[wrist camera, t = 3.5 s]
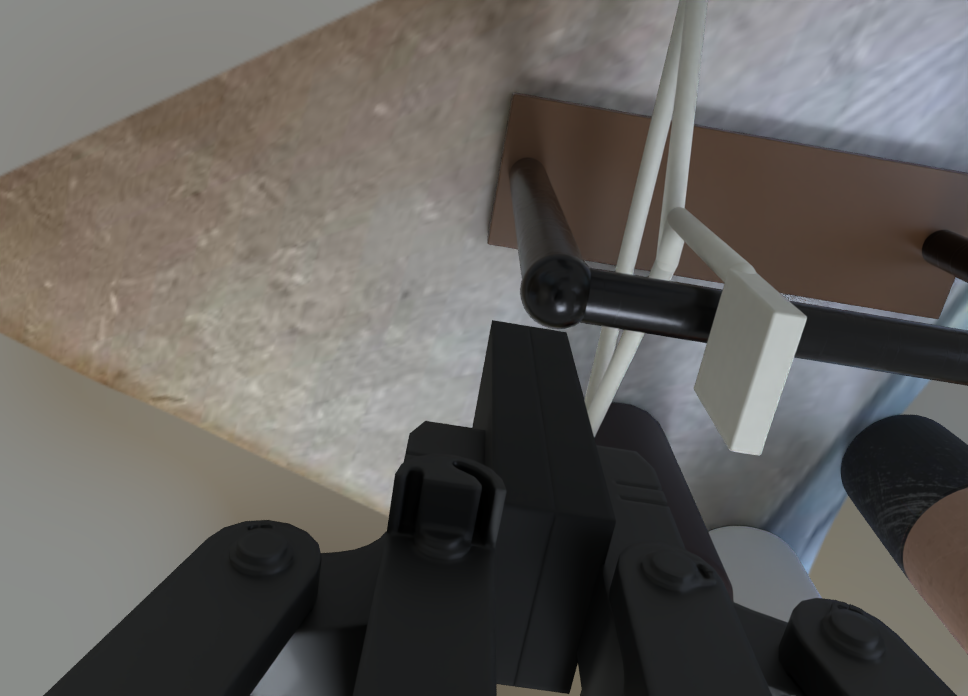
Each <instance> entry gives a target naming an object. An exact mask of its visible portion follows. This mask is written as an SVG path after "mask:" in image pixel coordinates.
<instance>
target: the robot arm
mask: <svg viewBox="0 0 968 696" xmlns="http://www.w3.org/2000/svg"><path fill="white" fill-rule="evenodd" d="M661 489H662V487H661V484H660V482H659V479H658V476H657V474H656V471H655V469H654V468H653V467H652V466H651V465H650V464H649V463H648V462H647V461H646V460H645V459H644V458H643V457H642V456H641V455H640V454H639V453H638V452H637V451H631V450H625V449H618V448H612V447H605V446H599V445H596V443H595V439H594V435H593V431H592V427H591V424H590V420H589V416H588V412H587V408H586V405H585V401H584V397H583V393H582V389H581V386H580V382H579V378H578V374H577V370H576V367H575V363H574V359H573V355H572V351H571V348H570V344H569V340H568V336H567V333H566V332H561V331H555V330H549V329H543V328H536V327H530V326H524V325H518V324H512V323H506V322H499V321H493V320H492V324H491V329H490V335H489V340H488V346H487V351H486V357H485V362H484V367H483V373H482V378H481V384H480V389H479V395H478V400H477V406H476V411H475V417H474V422H473V428H468V427H461V426H455V425H449V424H442V423H436V422H429V421H425V422H423V423H422V424H421V425H420V426H419V427H417V428H416V429H415V430H414V431H412V432H411V433H410V435H409V439H408V444H407V449H406V454H405V459H404V463H403V464H401V466H400V467H399V469H398V471H397V472H396V474H395V479H394V486H393V493H392V500H391V506H390V513H389V520H388V527H387V532H385V533H384V534H383V535H382V536H381V538H379V539H378V540H376V541H374V542H373V543H371V544H369V545H367V546H364V547H361V548H358V549H355V550H349V551H342V552H333V553H320V548H319V544H318V543H317V542H316V541H315V540H314V539H313V538H312V537H311V536H310V535H309V534H308V533H307V532H306V531H304V530H302V529H299V528H297V527H295V526H293V525H291V524H288V523H282V522H276V521H270V520H261V521H245V522H241V523H238V524H235V525H231V526H228V527H224V528H223V529H221V530H220V531H218V532H217V533H215V534H214V535H212V536H211V537H209V538H208V539H207V540H206V541H205V542H204V543H202V544H201V545H200V546H199V547H198V548H197V549H196V550H195V551H194V552H193V553H192V554H191V555H190V556H189V557H188V558H187V559H186V560H185V561H184V562H183V563H182V564H180V565H179V566H178V567H177V568H176V569H175V570H174V571H173V572H172V573H171V574H170V575H169V576H168V577H167V578H166V579H165V580H164V581H163V582H162V583H161V584H159V585H158V586H157V587H156V588H155V589H154V590H153V591H152V592H151V593H150V594H149V595H148V596H147V597H146V598H145V599H144V600H143V601H142V602H141V603H140V604H139V605H138V606H136V608H134V610H132V611H131V612H130V613H129V614H128V615H127V616H126V617H125V618H124V619H123V620H122V621H121V622H120V623H119V624H118V625H117V626H116V627H115V628H113V629H112V630H111V631H110V632H109V634H107V635H106V636H105V637H104V638H103V639H102V640H101V641H100V642H99V643H98V644H97V645H96V646H95V647H94V648H93V649H92V650H90V651H89V652H88V653H87V654H86V655H85V656H84V657H83V658H82V659H81V660H80V661H79V662H78V663H77V664H76V665H75V666H74V667H73V668H72V669H71V670H70V671H68V672H67V674H65V675H64V676H63V677H62V678H61V679H60V680H59V681H58V682H57V683H56V684H55V685H54V686H53V687H52V688H51V689H50V690H49V691H48V692H47V693H45V695H43V696H496V684H501V685H509V686H516V687H523V688H530V689H537V690H545V691H552V692H560V693H567V694H569V693H570V689H571V686H572V682H573V678H574V675H575V671H576V667H577V664H578V666H579V673H580V680H581V687H582V691H581V694H580V696H957V695H956V694H955V693H954V692H953V691H952V690H951V689H950V688H949V687H948V686H947V685H946V684H945V683H944V682H943V681H942V680H941V679H940V678H939V677H938V676H937V675H936V674H935V673H934V672H933V671H932V670H931V669H930V668H929V667H928V665H926V664H925V662H924V661H922V659H921V658H920V657H919V656H918V655H917V654H916V653H915V652H914V651H913V650H912V649H911V648H910V647H909V646H908V645H907V644H906V643H905V642H904V641H903V640H902V639H901V638H900V637H899V636H898V635H897V634H896V633H895V632H894V631H892V630H891V629H890V628H889V627H888V626H886V625H885V624H884V623H883V622H881V621H880V620H879V619H877V618H876V617H874V616H872V615H870V614H868V613H866V612H865V611H863V610H862V609H860V608H858V607H856V606H853V605H851V604H850V605H848V604H847V603H845V602H840V601H837V600H830V599H822V598H813V599H808V600H803V601H801V602H800V603H799V604H798V605H797V606H796V607H795V608H794V609H793V611H792V613H791V616H790V619H789V621H788V622H785V621H782V620H779V619H777V618H774V617H771V616H768V615H765V614H763V613H760V612H757V611H754V610H751V609H749V608H747V607H744V606H742V605H740V604H737V603H735V602H733V601H731V599H730V596H729V594H728V592H727V589H726V587H725V585H724V582H723V581H722V579H721V578H720V576H719V575H718V573H717V572H716V571H715V569H714V568H713V567H712V566H710V565H709V564H708V563H707V562H705V561H704V560H703V559H702V558H700V557H699V556H697V555H695V554H693V553H691V552H689V551H687V550H686V549H685V546H684V544H683V541H682V538H681V536H680V533H679V531H678V528H677V526H676V523H675V520H674V518H673V515H672V513H671V510H670V507H669V506H667V503H668V502H667V500H666V497H665V494H664V492H663V491H661Z"/></svg>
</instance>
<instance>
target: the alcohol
mask: <svg viewBox="0 0 968 696" xmlns="http://www.w3.org/2000/svg"><path fill="white" fill-rule="evenodd" d="M708 533H709V535H710V537H711V539H712V542H713V544H714V546H715V548H716V551H717V553H718V555H719V557H720V560H721V562H722V564H723V566H724V569H725V571H726V573H727V576H728V578H729V580H730V582H731V585H732V588H733V599H734V602H735V603H737V604H740V605H742V606H744V607H747V608H749V609H751V610H754V611H757V612H760V613H763V614H765V615H768V616H771V617H774V618H777V619H779V620H782V621H785V622H788V621H789V619H790V616H791V613H792V611H793V609H794V608H795V607H796V606H797V605H798V604H799V603H800V602H801V601H803V600H808V599H813V598H821V596H820V594H819V593H818V591H817V589H816V588H815V586H814V584H813V583H812V581H811V579H810V577H809V576H808V574H807V572H806V571H805V569H804V567H803V566H802V564H801V562H800V561H799V559H798V557H797V555H796V554H795V552H794V551H793V550H792V548H791V547H790V546H789V545H788V544H787V543H786V542H785V541H783V540H782V539H781V538H780V537H778V536H776V535H774V534H772V533H770V532H768V531H764V530H761V529H757V528H753V527H747V526H726V527H721V528H717V529H713V530H711V531H709V532H708Z"/></svg>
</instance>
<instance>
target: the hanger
mask: <svg viewBox="0 0 968 696" xmlns="http://www.w3.org/2000/svg"><path fill="white" fill-rule="evenodd" d="M707 4H708V0H680V1H679V5H678V10H677V14H676V18H675V22H674V26H673V31H672V35H671V39H670V43H669V47H668V52H667V56H666V60H665V64H664V68H663V73H662V77H661V81H660V85H659V89H658V94H657V98H656V102H655V106H654V110H653V115H652V119H651V123H650V127H649V131H648V136H647V140H646V144H645V148H644V152H643V157H642V161H641V165H640V169H639V173H638V178H637V182H636V186H635V190H634V194H633V199H632V203H631V207H630V211H629V215H628V220H627V224H626V228H625V232H624V236H623V241H622V245H621V249H620V253H619V257H618V262H617V266H616V270H615V272H619V273H625V274H631V275H633V272H634V268H635V264H636V260H637V256H638V252H639V248H640V244H641V240H642V236H643V232H644V227H645V223H646V219H647V215H648V211H649V207H650V203H651V199H652V195H653V191H654V187H655V183H656V179H657V175H658V171H659V167H660V163H661V159H662V155H663V151H664V146H665V142H666V138H667V134H668V130H669V126H670V122H671V118H672V114H673V118H672V127H671V136H670V144H669V153H668V161H667V170H666V178H665V187H664V195H663V204H662V212H661V221H660V229H659V238H658V246H657V255H656V260H655V262H654V265H653V267H652V269H651V271H650V273H649V276H648V277H649V278H655V279H661V280H667V281H670V280H671V278H672V276H673V274H674V272H675V270H676V268H677V266H678V263H679V259H680V256H681V252H682V248H683V245H684V241H685V242H686V243H687V244H688V246H689V247H690V248H691V249H692V250H693V251H694V252H695V253H696V254H697V255H698V256H699V257H700V258H701V259H702V260H703V261H704V262H705V263H706V264H707V265H708V266H709V267H710V268H711V269H712V270H713V271H714V272H715V273H716V274H717V275H718V276H719V277H720V278H721V279H722V281H723V282H724V283H725V284H724V287H723V291H722V294H721V298H720V301H719V304H718V308H717V311H716V315H715V318H714V321H713V325H712V328H711V332H710V335H709V339H708V342H707V345H706V349H705V352H704V356H703V359H702V362H701V366H700V369H699V373H698V376H697V379H696V383H695V386H694V391H695V392H696V394H697V396H698V397H699V399H700V401H701V403H702V404H703V406H704V408H705V409H706V411H707V413H708V415H709V416H710V418H711V420H712V421H713V423H714V425H715V426H716V428H717V430H718V432H719V433H720V435H721V437H722V438H723V440H724V442H725V444H726V445H727V447H728V449H729V450H730V451H733V452H739V453H746V454H752V455H761V453H762V450H763V447H764V444H765V441H766V438H767V435H768V432H769V429H770V426H771V423H772V420H773V418H774V415H775V412H776V409H777V406H778V403H779V400H780V397H781V394H782V391H783V388H784V385H785V382H786V379H787V376H788V373H789V370H790V367H791V365H792V362H793V359H794V356H795V353H796V350H797V347H798V344H799V341H800V338H801V335H802V332H803V329H804V326H805V323H806V320H807V316H806V315H804V314H803V313H802V312H801V311H800V310H799V309H798V308H796V307H795V306H794V305H793V304H792V303H791V302H789V301H788V300H787V299H786V298H785V297H784V296H783V295H781V294H780V293H779V292H778V291H777V290H776V289H774V288H773V287H772V286H771V285H770V284H769V283H768V282H766V281H765V280H764V279H763V278H762V277H761V276H760V275H758V274H757V273H756V271H755V269H754V268H753V266H752V265H750V264H749V263H748V262H747V261H746V260H745V259H743V258H742V257H741V256H740V255H739V254H738V253H736V252H735V251H734V250H733V249H732V248H731V247H729V246H728V245H727V244H726V243H725V242H724V241H722V240H721V239H720V238H719V237H718V236H717V235H715V234H714V233H713V232H712V231H711V230H710V229H708V228H707V227H706V226H705V225H704V224H703V223H701V222H700V221H699V220H698V219H697V218H696V217H694V216H693V215H692V214H691V213H690V212H689V211H687V210H686V209H685V199H686V190H687V181H688V172H689V164H690V155H691V146H692V137H693V128H694V119H695V110H696V101H697V92H698V84H699V75H700V66H701V57H702V48H703V39H704V30H705V21H706V12H707ZM618 333H619V329H617V328H611V327H604V326H602V329H601V333H600V337H599V341H598V346H597V350H596V354H595V358H594V362H593V367H592V371H591V375H590V379H589V383H588V388H587V392H586V396H585V400H584V401H585V405H586V408H587V412H588V416H589V420H590V424H591V427H592V431H593V435H594V437H595V435H596V433H597V431H598V429H599V427H600V425H601V423H602V421H603V419H604V417H605V415H606V413H607V410H608V408H609V406H610V404H611V402H612V400H613V398H614V396H615V394H616V392H617V390H618V388H619V386H620V384H621V381H622V379H623V377H624V375H625V373H626V371H627V369H628V367H629V365H630V363H631V361H632V359H633V357H634V355H635V353H636V350H637V348H638V346H639V344H640V342H641V340H642V338H643V336H644V334H645V333H641V332H635V331H629V330H624V332H623V334H622V336H621V338H620V340H619V343H618V345H617V347H616V349H615V345H616V341H617V337H618ZM614 349H615V352H614ZM613 353H614V354H613Z"/></svg>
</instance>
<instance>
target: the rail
mask: <svg viewBox="0 0 968 696" xmlns="http://www.w3.org/2000/svg"><path fill="white" fill-rule="evenodd" d="M651 119H652V117H650V116H644V115H638V114H633V113H627V112H622V111H616V110H610V109H605V108H599V107H593V106H588V105H582V104H576V103H571V102H565V101H560V100H554V99H548V98H543V97H537V96H531V95H526V94H520V93H515V92H514V93H513V94H512V99H511V105H510V111H509V117H508V122H507V128H506V134H505V140H504V146H503V151H502V157H501V163H500V169H499V174H498V180H497V186H496V192H495V198H494V203H493V209H492V215H491V221H490V227H489V232H488V244H490V245H496V246H502V247H508V248H514V249H518V253H519V260H520V268H521V276H522V281H521V287H520V295H521V300H522V304H523V306H524V309H525V310H526V312H527V313H528V315H529V316H530V317H531V318H532V319H533V320H534V321H536V322H537V323H538V324H540V325H542V326H545V327H548V328H552V329H565V328H569V327H572V326H575V325H577V324H578V323H586V324H592V325H598V326H604V327H611V328H617V329H623V330H629V331H635V332H641V333H647V334H654V335H660V336H666V337H672V338H678V339H684V340H690V341H697V342H703V343H707V342H708V339H709V335H710V332H711V328H712V325H713V321H714V318H715V315H716V311H717V308H718V304H719V301H720V298H721V294H722V291H723V290H721V289H715V288H709V287H703V286H697V285H691V284H685V283H679V282H673V281H667V280H661V279H655V278H649V277H643V276H637V275H631V274H625V273H619V272H613V271H607V270H601V269H595V268H589V266H588V265H587V264H586V263H585V262H584V260H586V261H592V262H598V263H604V264H610V265H616V266H617V262H618V257H619V253H620V249H621V245H622V241H623V236H624V232H625V228H626V224H627V220H628V215H629V211H630V207H631V203H632V199H633V194H634V190H635V186H636V182H637V178H638V173H639V169H640V165H641V161H642V157H643V152H644V148H645V144H646V140H647V136H648V131H649V127H650V123H651ZM671 127H672V120H671V122H670V126H669V130H668V134H667V138H666V142H665V146H664V151H663V155H662V159H661V163H660V167H659V171H658V175H657V179H656V183H655V187H654V191H653V195H652V199H651V203H650V207H649V211H648V215H647V219H646V223H645V227H644V232H643V236H642V240H641V244H640V248H639V252H638V256H637V260H636V264H635V268H634V269H640V270H646V271H651V269H652V267H653V265H654V262H655V260H656V255H657V246H658V238H659V229H660V221H661V212H662V204H663V195H664V187H665V178H666V170H667V161H668V153H669V144H670V136H671ZM685 209H686V210H687V211H689V212H690V213H691V214H692V215H693V216H694V217H696V218H697V219H698V220H699V221H700V222H701V223H703V224H704V225H705V226H706V227H707V228H708V229H710V230H711V231H712V232H713V233H714V234H715V235H717V236H718V237H719V238H720V239H721V240H722V241H724V242H725V243H726V244H727V245H728V246H729V247H731V248H732V249H733V250H734V251H735V252H736V253H738V254H739V255H740V256H741V257H742V258H743V259H745V260H746V261H747V262H748V263H749V264H750V265H752V266H753V268H754V269H755V271H756V273H757V274H758V275H760V276H761V277H762V278H763V279H764V280H765V281H766V282H768V283H769V284H770V285H771V286H772V287H773V288H774V289H776V290H777V291H778V292H779V293H783V294H789V295H795V296H801V297H807V298H813V299H819V300H825V301H831V302H837V303H843V304H849V305H855V306H861V307H867V308H873V309H879V310H885V311H891V312H897V313H903V314H909V315H915V316H921V317H927V318H933V319H939V317H940V314H941V312H942V309H943V307H944V304H945V302H946V299H947V297H948V294H949V292H950V289H951V287H952V285H953V282H954V280H955V277H957V278H959V279H961V280H963V281H965V282H967V283H968V173H965V172H959V171H954V170H948V169H942V168H937V167H931V166H926V165H920V164H914V163H909V162H903V161H897V160H892V159H886V158H881V157H875V156H869V155H864V154H858V153H852V152H847V151H841V150H835V149H830V148H824V147H819V146H813V145H807V144H802V143H796V142H790V141H785V140H779V139H774V138H768V137H762V136H757V135H751V134H745V133H740V132H734V131H728V130H723V129H717V128H712V127H706V126H700V125H695V124H694V128H693V137H692V146H691V155H690V164H689V172H688V181H687V190H686V199H685ZM673 275H676V276H682V277H688V278H694V279H700V280H706V281H712V282H718V283H724V282H723V281H722V279H721V278H720V277H719V276H718V275H717V274H716V273H715V272H714V271H713V270H712V269H711V268H710V267H709V266H708V265H707V264H706V263H705V262H704V261H703V260H702V259H701V258H700V257H699V256H698V255H697V254H696V253H695V252H694V251H693V250H692V249H691V248H690V247H689V246H688V244H687V243H686V242H685V241H684V245H683V248H682V252H681V256H680V259H679V263H678V266H677V268H676V270H675V272H674V274H673ZM724 284H725V283H724ZM789 302H791V303H792V304H793V305H794V306H795V307H796V308H798V309H799V310H800V311H801V312H802V313H803V314H804V315H806V316H807V320H806V323H805V326H804V329H803V332H802V335H801V338H800V341H799V344H798V347H797V350H796V353H795V356H794V357H795V358H801V359H807V360H813V361H820V362H826V363H832V364H838V365H844V366H850V367H856V368H863V369H869V370H875V371H881V372H887V373H893V374H900V375H906V376H912V377H918V378H924V379H930V380H937V381H943V382H949V383H955V384H961V385H967V386H968V330H962V329H956V328H950V327H944V326H938V325H932V324H926V323H920V322H914V321H908V320H902V319H896V318H890V317H884V316H878V315H872V314H866V313H860V312H854V311H848V310H842V309H836V308H830V307H824V306H818V305H812V304H806V303H800V302H794V301H789Z"/></svg>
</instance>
